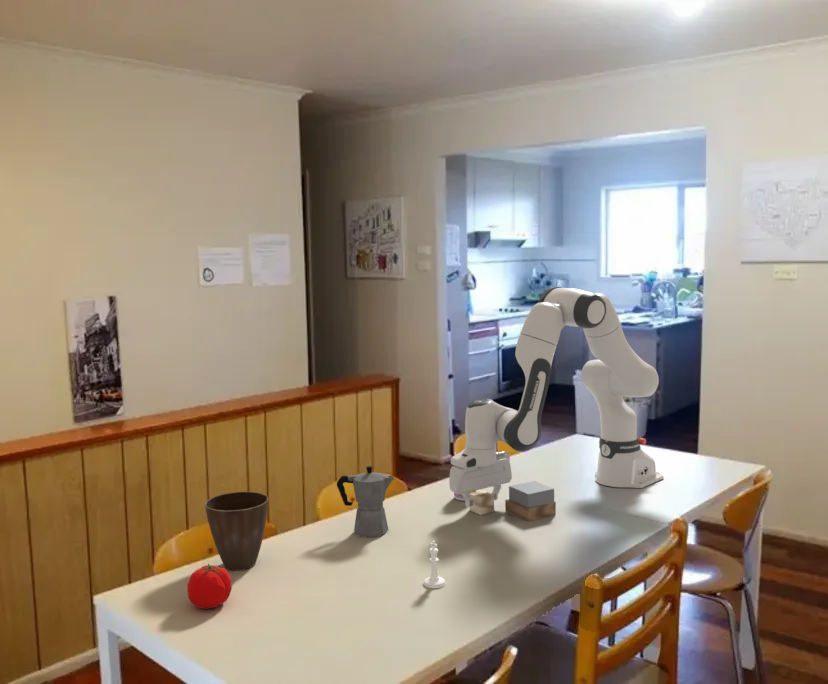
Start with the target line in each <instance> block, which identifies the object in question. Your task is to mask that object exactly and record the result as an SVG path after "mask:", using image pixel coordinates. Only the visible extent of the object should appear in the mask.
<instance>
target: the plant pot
mask: <svg viewBox="0 0 828 684" xmlns="http://www.w3.org/2000/svg"><path fill="white" fill-rule="evenodd" d="M268 504H269V497H268V496H267V495H266V494H264V493H260V492H255V491H236V492H235V491H234V492H229V493H222V494H220V495H215V496H212V497H211V498H208V499H207V500H206V501H205V503H204V508H205V511H206V518H207V521H208V522H207V523H208V526H209V529H210V534H211V536H212V539H213V542H214V545H215V548H216V550H217V552H218V556H219V557H220V559H221V562H222V564H223V566H224V567H225V569H226V570H231V571H243V570H247V569H250V568H252V567H253V566H255V565H256V563H257V560H258V557H259V553H260V551H261V547H262V542H263V539H264V534H265V529H266V523H267V522H266V521H267V517H268V516H267V515H268V507H269V506H268Z"/></svg>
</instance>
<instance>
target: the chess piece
mask: <svg viewBox="0 0 828 684" xmlns="http://www.w3.org/2000/svg"><path fill="white" fill-rule="evenodd" d="M429 546H432V547H430V548H429V553H430V556H431V557H430V558H429V560H428V561H429V562H431V570H430V575H429V576H428V577H426V578H424V580H423V586H424V587H426V588H428V589H440V588H443V587H445V586H446V584H447V583H446V580H445V578H443V577H442V576H440V575H439V572H438V566H437V563H438V562H439V560H440V559H439V558H438V553H439V549H438V543H436V540H432V541H431V542H430V543H429Z"/></svg>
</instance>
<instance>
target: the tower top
mask: <svg viewBox="0 0 828 684" xmlns="http://www.w3.org/2000/svg"><path fill="white" fill-rule="evenodd" d="M508 495H509V496H508V497H509V498H508V499H509V500H511V501H513V502H516V503H518V504H520V505H522V506H525V507H527V508H532V507H537V506H541V505H545V504H550V503H554V502H555V488H553V487H551V486H548V485H546V484H543V483H541V482H538V481H536V480H531V481H528V482H523V483H522V482H521V483H518V484H511V485H509V486H508Z"/></svg>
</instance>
